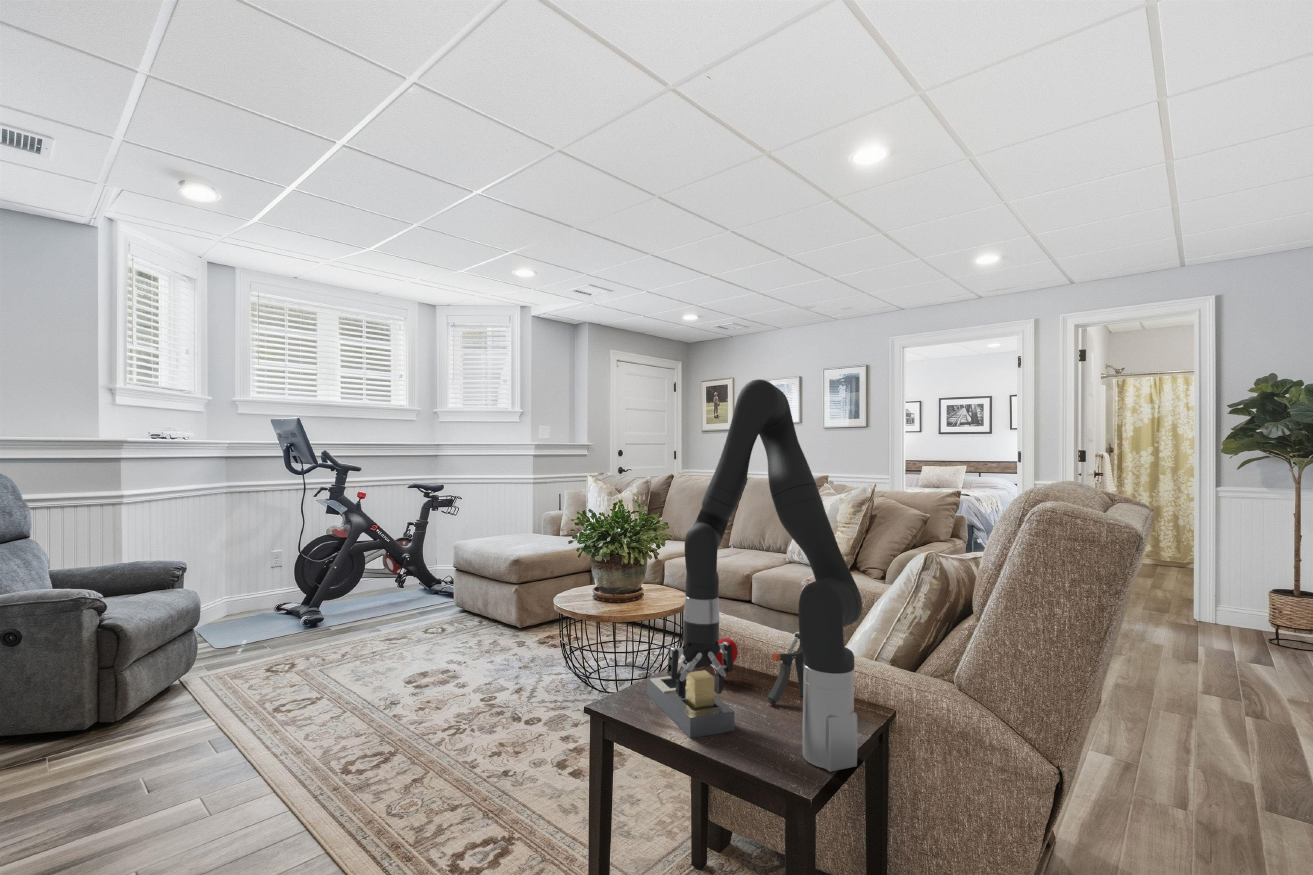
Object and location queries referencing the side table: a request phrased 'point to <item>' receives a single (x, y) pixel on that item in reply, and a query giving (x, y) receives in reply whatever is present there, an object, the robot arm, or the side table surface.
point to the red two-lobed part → (734, 651)
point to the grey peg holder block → (689, 709)
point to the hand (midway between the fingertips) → (699, 694)
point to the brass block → (699, 690)
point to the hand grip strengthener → (787, 671)
